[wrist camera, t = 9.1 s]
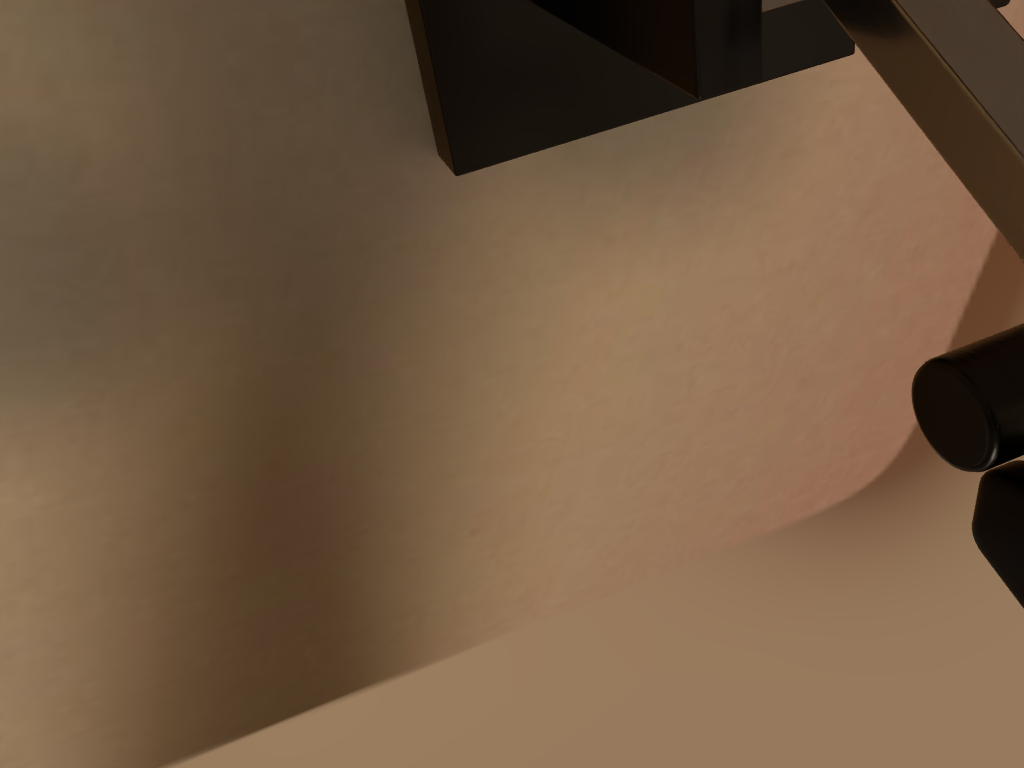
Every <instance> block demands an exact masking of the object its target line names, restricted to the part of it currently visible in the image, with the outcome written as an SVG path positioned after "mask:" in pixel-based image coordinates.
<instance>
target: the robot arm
mask: <svg viewBox="0 0 1024 768" xmlns="http://www.w3.org/2000/svg"><path fill="white" fill-rule="evenodd" d="M972 532H973V536H974V540H975V542H976V544H977V546H978V548H979V549H980V551H981V552H982V554H983V555H984V556H985V558H986V559H987V560H988V562H989V563H990V564H991V566H992V567H993V568H994V570H995V571H996V572H997V573H998V575H999V576H1000V577H1001V579H1002V580H1003V582H1004V583H1005V584H1006V586H1007V587H1008V588H1009V590H1010V591H1011V592H1012V594H1013V595H1014V596H1015V597H1016V598H1017V600H1018V601H1019V603H1020V604H1021V606H1022V607H1023V608H1024V461H1021V460H1017V461H1012V462H1009V463H1006V464H1004V465H1001V466H999V467H996V468H994V469H991V470H989V471H987V472H986V473H985V474H984V475H983V476H982V477H981V480H980V484H979V488H978V494H977V499H976V505H975V510H974V516H973V521H972Z"/></svg>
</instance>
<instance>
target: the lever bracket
mask: <svg viewBox="0 0 1024 768" xmlns="http://www.w3.org/2000/svg"><path fill="white" fill-rule="evenodd" d="M989 1H990V2H991V3H992V4H993V5H994V6H995V7H996V8H1000V7H1003V6H1006V5H1007V4H1009V2H1010V0H989ZM405 4H406V8H407V13H408V17H409V22H410V27H411V31H412V36H413V40H414V45H415V50H416V54H417V59H418V63H419V68H420V73H421V77H422V82H423V86H424V91H425V96H426V100H427V105H428V109H429V114H430V119H431V123H432V128H433V132H434V137H435V142H436V146H437V151H438V155H439V157H440V158H441V159H442V160H443V161H444V163H445V164H446V165H447V166H448V167H449V168H450V170H451V171H452V172H453V173H454V174H455V175H456V176H460V175H463V174H466V173H469V172H473V171H476V170H479V169H482V168H486V167H489V166H492V165H495V164H499V163H502V162H505V161H508V160H512V159H515V158H518V157H521V156H525V155H528V154H531V153H534V152H538V151H541V150H544V149H547V148H551V147H554V146H557V145H560V144H564V143H567V142H570V141H573V140H577V139H580V138H583V137H586V136H590V135H593V134H596V133H599V132H603V131H606V130H609V129H612V128H616V127H619V126H622V125H625V124H629V123H632V122H635V121H638V120H642V119H645V118H648V117H651V116H655V115H658V114H661V113H664V112H668V111H671V110H674V109H677V108H681V107H684V106H687V105H690V104H694V103H697V102H700V101H703V100H707V99H710V98H713V97H716V96H720V95H723V94H726V93H729V92H733V91H736V90H739V89H742V88H746V87H749V86H752V85H755V84H759V83H762V82H765V81H768V80H772V79H775V78H778V77H781V76H785V75H788V74H791V73H794V72H798V71H801V70H804V69H807V68H811V67H814V66H817V65H820V64H824V63H827V62H830V61H833V60H837V59H840V58H843V57H846V56H850V55H853V54H854V52H855V43H854V41H853V40H852V39H851V37H850V36H849V35H848V33H847V32H846V31H845V30H844V28H843V27H842V26H841V24H840V23H839V22H838V20H837V19H836V18H835V17H834V15H833V14H832V13H831V11H830V10H829V9H828V7H827V6H826V5H825V4H824V2H823V1H822V0H803V1H799V2H796V3H792V4H789V5H785V6H782V7H779V8H775V9H772V10H768V11H765V12H762V0H405Z"/></svg>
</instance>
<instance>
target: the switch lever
mask: <svg viewBox="0 0 1024 768" xmlns="http://www.w3.org/2000/svg"><path fill="white" fill-rule="evenodd" d="M799 1H803V0H762V12H765V11H768V10H772V9H775V8H779V7H782V6H785V5H789V4H792V3H796V2H799ZM822 1H823V2H824V4H825V5H826V6H827V7H828V9H829V10H830V11H831V13H832V14H833V15H834V17H835V18H836V19H837V20H838V22H839V23H840V24H841V26H842V27H843V28H844V30H845V31H846V32H847V33H848V35H849V36H850V37H851V39H852V40H853V41H854V43H855V44H856V45H857V47H858V48H859V49H860V50H861V52H862V53H863V54H864V56H865V57H866V58H867V60H868V61H869V62H870V63H871V65H872V66H873V67H874V69H875V70H876V71H877V73H878V74H879V75H880V76H881V78H882V79H883V80H884V82H885V83H886V84H887V86H888V87H889V88H890V90H891V91H892V92H893V93H894V95H895V96H896V97H897V99H898V100H899V101H900V103H901V104H902V105H903V106H904V108H905V109H906V110H907V112H908V113H909V114H910V116H911V117H912V118H913V120H914V121H915V122H916V123H917V125H918V126H919V127H920V129H921V130H922V131H923V133H924V134H925V135H926V136H927V138H928V139H929V140H930V142H931V143H932V144H933V146H934V147H935V148H936V149H937V151H938V152H939V153H940V155H941V156H942V157H943V159H944V160H945V161H946V163H947V164H948V165H949V166H950V168H951V169H952V170H953V172H954V173H955V174H956V176H957V177H958V178H959V179H960V181H961V182H962V183H963V185H964V186H965V187H966V189H967V190H968V191H969V192H970V194H971V195H972V196H973V198H974V199H975V200H976V202H977V203H978V204H979V206H980V207H981V208H982V209H983V211H984V212H985V213H986V215H987V216H988V217H989V219H990V220H991V221H992V222H993V224H994V225H995V226H996V228H997V229H998V230H999V232H1000V233H1001V234H1002V235H1003V237H1004V238H1005V239H1006V241H1007V242H1008V243H1009V244H1010V246H1011V247H1012V249H1013V250H1014V251H1015V252H1016V254H1017V255H1018V256H1019V258H1020V259H1021V260H1022V262H1023V263H1024V40H1023V38H1022V37H1021V36H1020V35H1019V34H1018V33H1017V32H1016V30H1015V29H1014V28H1013V27H1012V26H1011V25H1010V24H1009V22H1008V21H1007V20H1006V19H1005V18H1004V17H1003V15H1002V14H1001V13H1000V12H999V11H998V10H997V9H996V7H995V6H994V5H993V4H992V3H991V2H990V1H989V0H822ZM912 403H913V409H914V412H915V416H916V419H917V422H918V424H919V426H920V428H921V430H922V432H923V434H924V436H925V438H926V439H927V441H928V442H929V444H930V445H931V447H932V448H933V449H934V450H935V451H936V453H937V454H938V455H939V456H940V457H941V458H943V459H944V460H945V461H946V462H948V463H949V464H950V465H952V466H954V467H956V468H958V469H960V470H963V471H968V472H983V471H986V470H989V469H991V468H993V467H996V466H998V465H1001V464H1003V463H1005V462H1008V461H1010V460H1013V459H1015V458H1017V457H1020V456H1022V455H1024V323H1023V324H1020V325H1018V326H1015V327H1013V328H1010V329H1007V330H1005V331H1002V332H1000V333H997V334H994V335H992V336H989V337H986V338H984V339H981V340H979V341H976V342H973V343H971V344H968V345H966V346H963V347H961V348H958V349H955V350H953V351H950V352H947V353H945V354H942V355H940V356H937V357H934V358H932V359H930V360H928V361H926V362H925V363H924V364H923V365H922V366H921V367H920V368H919V369H918V371H917V372H916V374H915V376H914V379H913V383H912Z"/></svg>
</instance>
